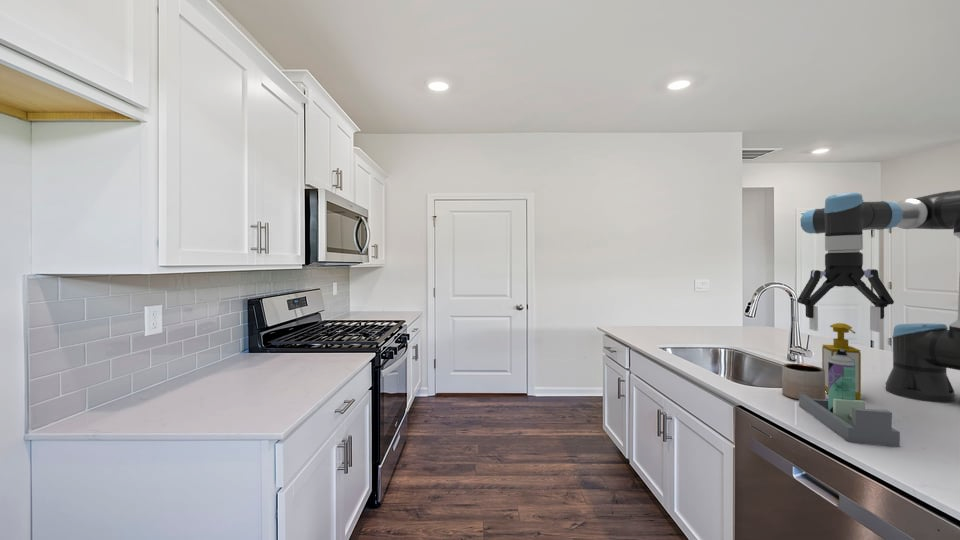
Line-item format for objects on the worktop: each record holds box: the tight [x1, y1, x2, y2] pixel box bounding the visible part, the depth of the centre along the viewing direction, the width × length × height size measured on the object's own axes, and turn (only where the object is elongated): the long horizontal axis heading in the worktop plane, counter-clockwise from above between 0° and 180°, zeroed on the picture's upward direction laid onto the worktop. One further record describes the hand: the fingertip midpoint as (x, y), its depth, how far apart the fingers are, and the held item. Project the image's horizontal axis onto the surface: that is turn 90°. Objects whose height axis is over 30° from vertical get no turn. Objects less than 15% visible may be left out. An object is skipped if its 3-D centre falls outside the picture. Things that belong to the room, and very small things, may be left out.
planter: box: [781, 363, 826, 401], centre depth 129 cm, size 11×11×10 cm
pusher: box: [833, 399, 866, 426], centre depth 103 cm, size 6×5×7 cm
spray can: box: [827, 349, 856, 413], centre depth 108 cm, size 6×6×20 cm
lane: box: [798, 394, 901, 447], centre depth 108 cm, size 10×25×8 cm, turn 163°
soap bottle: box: [821, 322, 862, 400], centre depth 127 cm, size 7×13×24 cm, turn 158°
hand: (843, 330), depth 107 cm, fingers open, 13 cm apart
